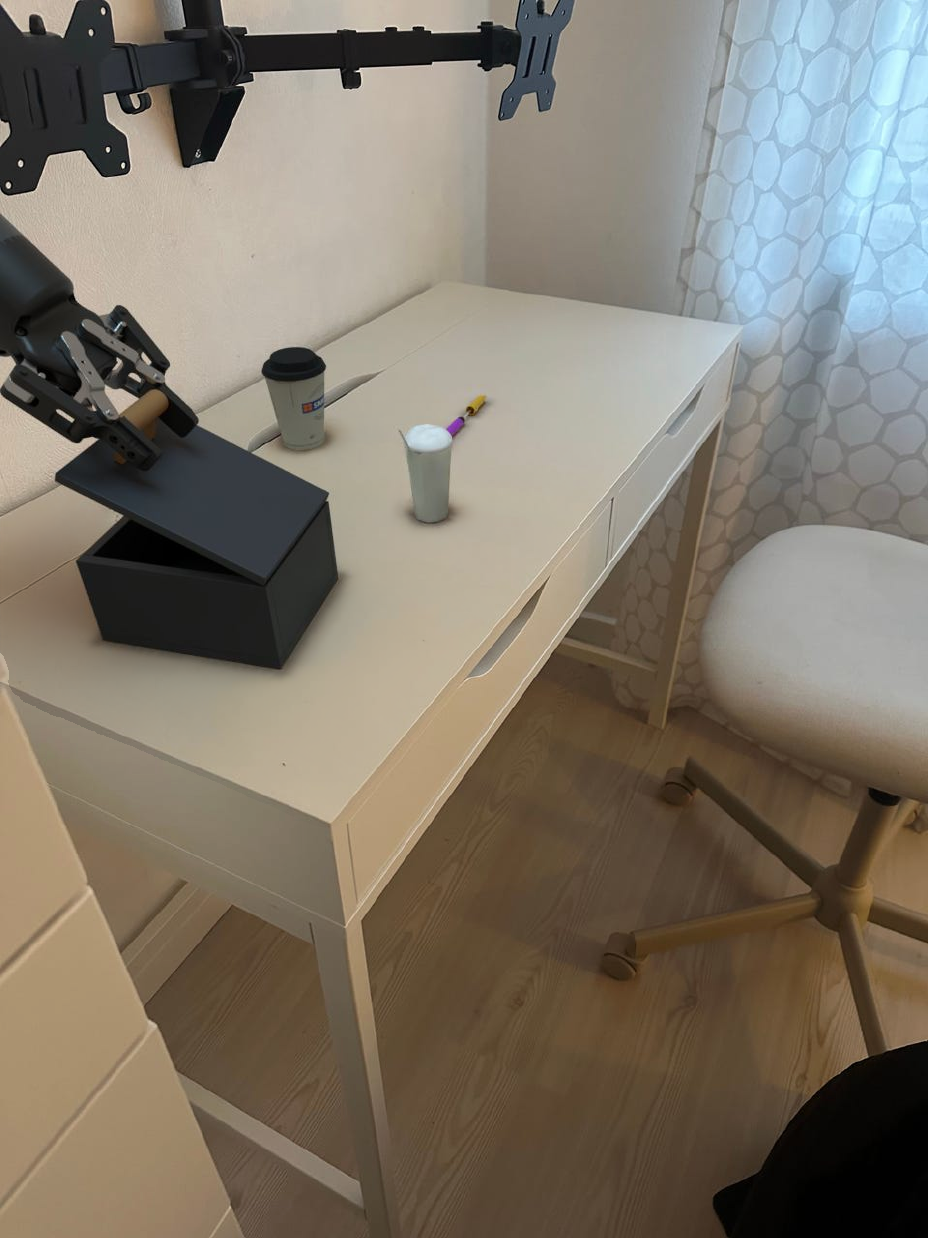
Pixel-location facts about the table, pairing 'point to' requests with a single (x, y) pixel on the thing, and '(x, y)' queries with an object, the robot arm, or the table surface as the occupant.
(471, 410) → the purple yellow rod
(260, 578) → the lid
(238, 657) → the black open box
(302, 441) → the coffee cup
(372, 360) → the table surface
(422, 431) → the milkshake
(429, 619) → the table surface
